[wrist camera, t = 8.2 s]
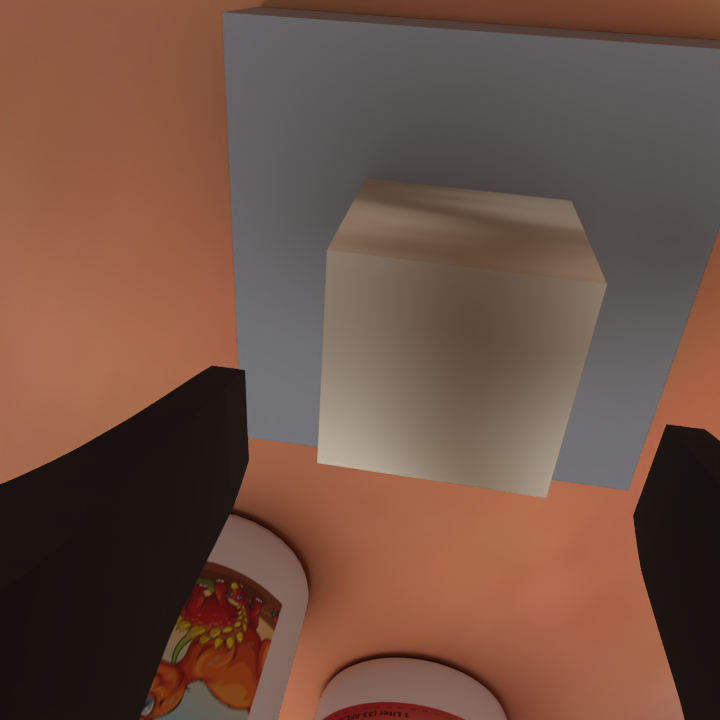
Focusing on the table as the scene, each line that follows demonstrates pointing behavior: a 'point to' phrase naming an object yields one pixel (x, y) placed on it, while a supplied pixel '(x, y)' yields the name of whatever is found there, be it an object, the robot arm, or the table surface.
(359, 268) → the maple cube
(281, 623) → the milk bottle
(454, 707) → the fruit juice
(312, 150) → the grey base
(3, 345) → the table surface
